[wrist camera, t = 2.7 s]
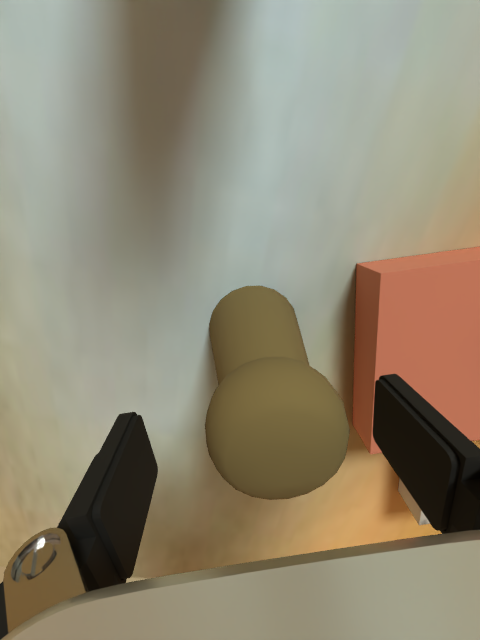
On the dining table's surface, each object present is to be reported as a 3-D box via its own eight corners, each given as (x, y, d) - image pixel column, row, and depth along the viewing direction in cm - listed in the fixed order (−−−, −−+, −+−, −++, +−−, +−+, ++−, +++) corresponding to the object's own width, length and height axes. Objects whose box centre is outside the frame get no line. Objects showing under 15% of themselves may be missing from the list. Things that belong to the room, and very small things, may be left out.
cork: (213, 280, 18) (195, 375, 7) (305, 291, 18) (407, 394, 8) (205, 362, 20) (181, 524, 10) (287, 370, 20) (349, 532, 10)
